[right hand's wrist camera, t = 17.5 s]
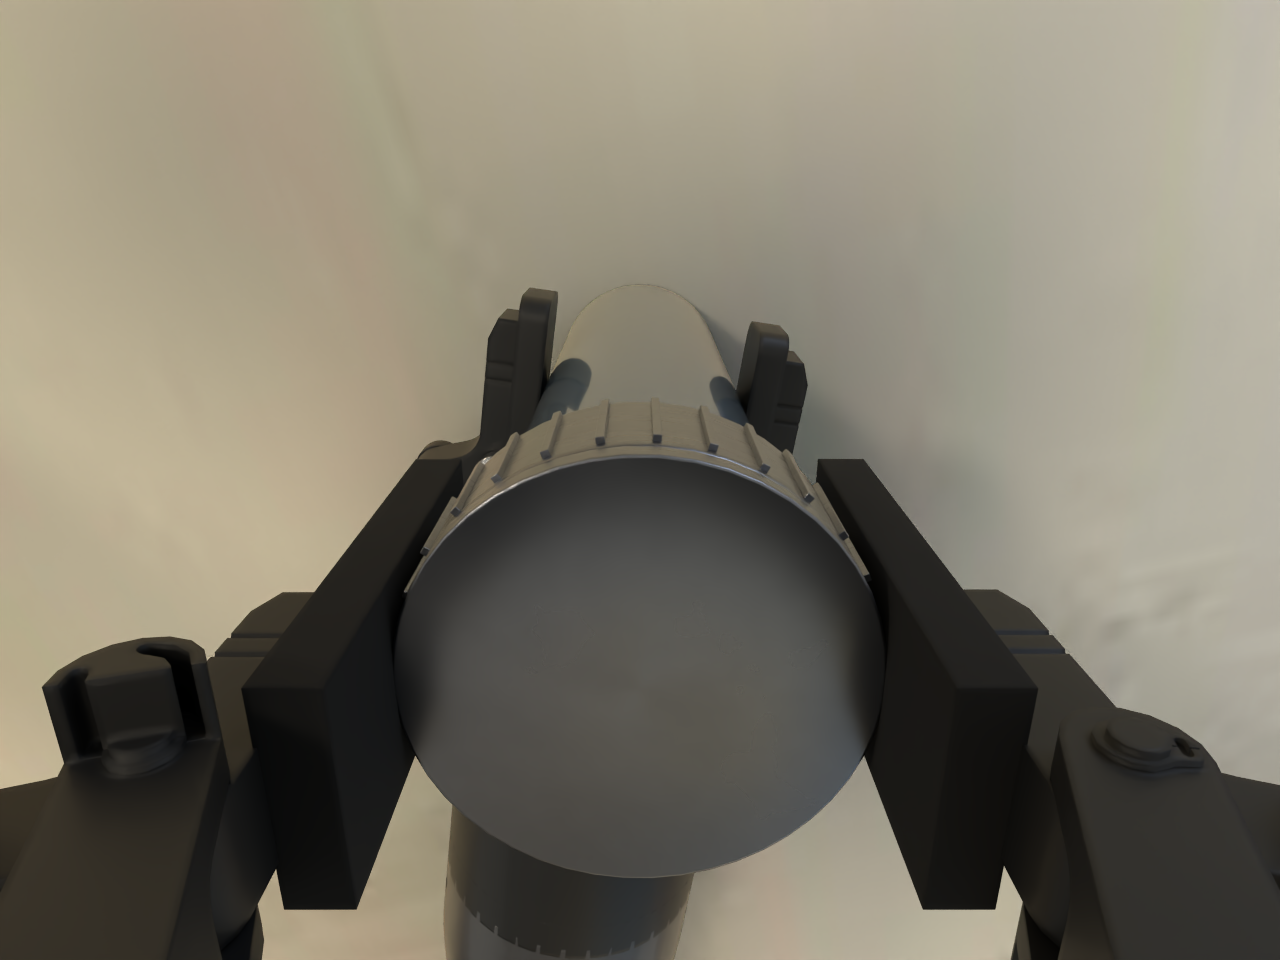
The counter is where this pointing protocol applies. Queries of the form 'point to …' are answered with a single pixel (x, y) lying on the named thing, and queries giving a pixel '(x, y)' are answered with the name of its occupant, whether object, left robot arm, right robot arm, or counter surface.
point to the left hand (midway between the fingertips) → (654, 314)
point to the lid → (639, 644)
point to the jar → (639, 357)
